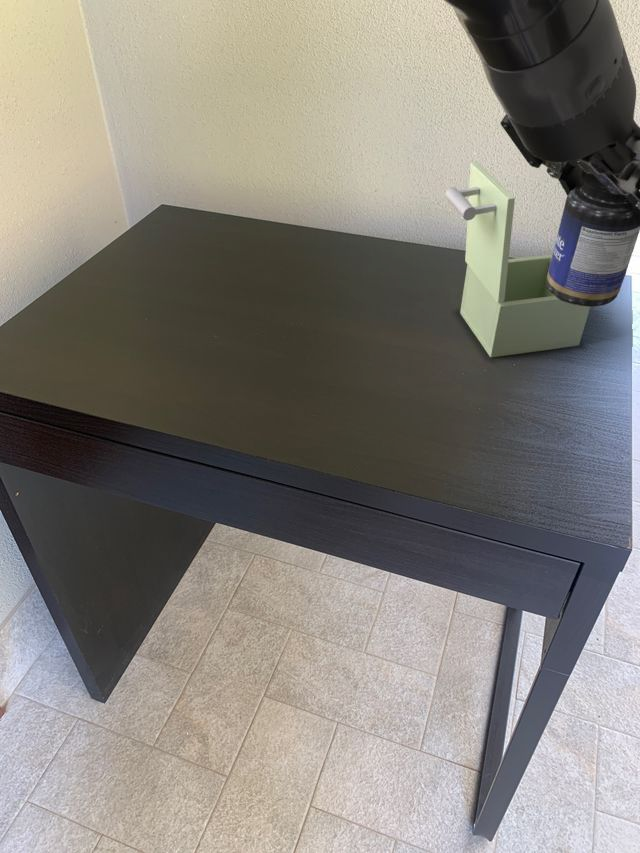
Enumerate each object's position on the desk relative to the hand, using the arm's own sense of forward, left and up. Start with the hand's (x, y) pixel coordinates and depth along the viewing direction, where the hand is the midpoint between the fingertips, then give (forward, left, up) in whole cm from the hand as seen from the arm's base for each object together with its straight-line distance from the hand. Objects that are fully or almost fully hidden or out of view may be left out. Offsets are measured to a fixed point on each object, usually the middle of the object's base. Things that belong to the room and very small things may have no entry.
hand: (616, 204), depth 55 cm
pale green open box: (+12, -25, -30) cm, 41 cm away
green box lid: (+17, -20, -15) cm, 30 cm away
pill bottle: (+1, +2, -7) cm, 8 cm away
